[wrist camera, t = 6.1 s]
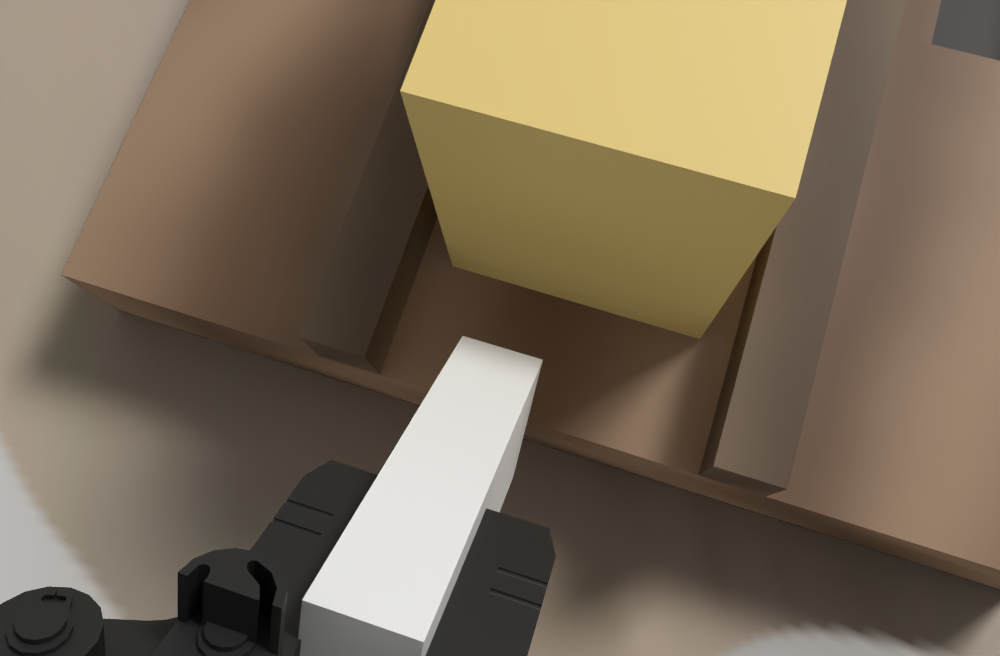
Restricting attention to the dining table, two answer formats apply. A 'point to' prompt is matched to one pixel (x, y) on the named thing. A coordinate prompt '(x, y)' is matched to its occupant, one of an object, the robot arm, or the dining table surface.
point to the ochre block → (618, 142)
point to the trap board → (589, 331)
